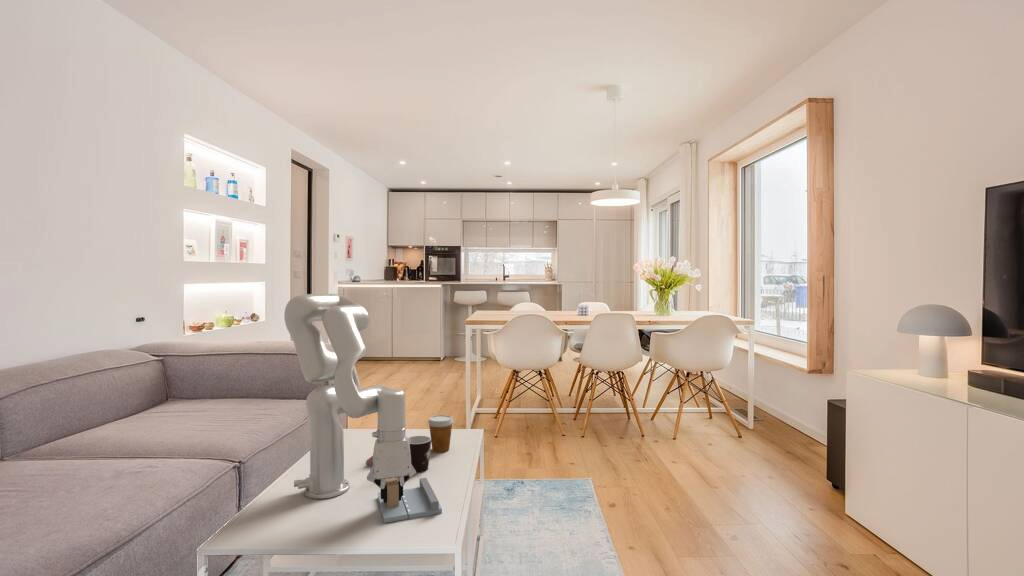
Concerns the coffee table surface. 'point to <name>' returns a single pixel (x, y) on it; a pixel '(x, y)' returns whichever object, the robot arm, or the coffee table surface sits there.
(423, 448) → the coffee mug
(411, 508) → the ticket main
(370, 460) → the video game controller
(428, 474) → the coffee table surface
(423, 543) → the coffee table surface
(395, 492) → the grey slab
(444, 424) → the disposable coffee cup
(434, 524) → the coffee table surface
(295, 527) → the coffee table surface
